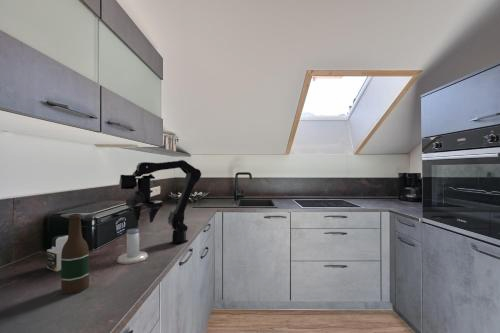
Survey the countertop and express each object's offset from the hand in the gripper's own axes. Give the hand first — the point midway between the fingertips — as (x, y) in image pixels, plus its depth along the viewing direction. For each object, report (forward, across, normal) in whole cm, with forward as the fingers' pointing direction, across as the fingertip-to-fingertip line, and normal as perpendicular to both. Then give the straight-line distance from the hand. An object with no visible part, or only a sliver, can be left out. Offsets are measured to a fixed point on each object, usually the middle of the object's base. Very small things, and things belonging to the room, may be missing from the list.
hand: (144, 221), depth 118 cm
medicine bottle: (+13, -12, -29) cm, 34 cm away
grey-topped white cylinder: (+12, +6, -11) cm, 17 cm away
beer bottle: (+13, +12, -37) cm, 41 cm away
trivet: (+13, +6, -11) cm, 18 cm away
